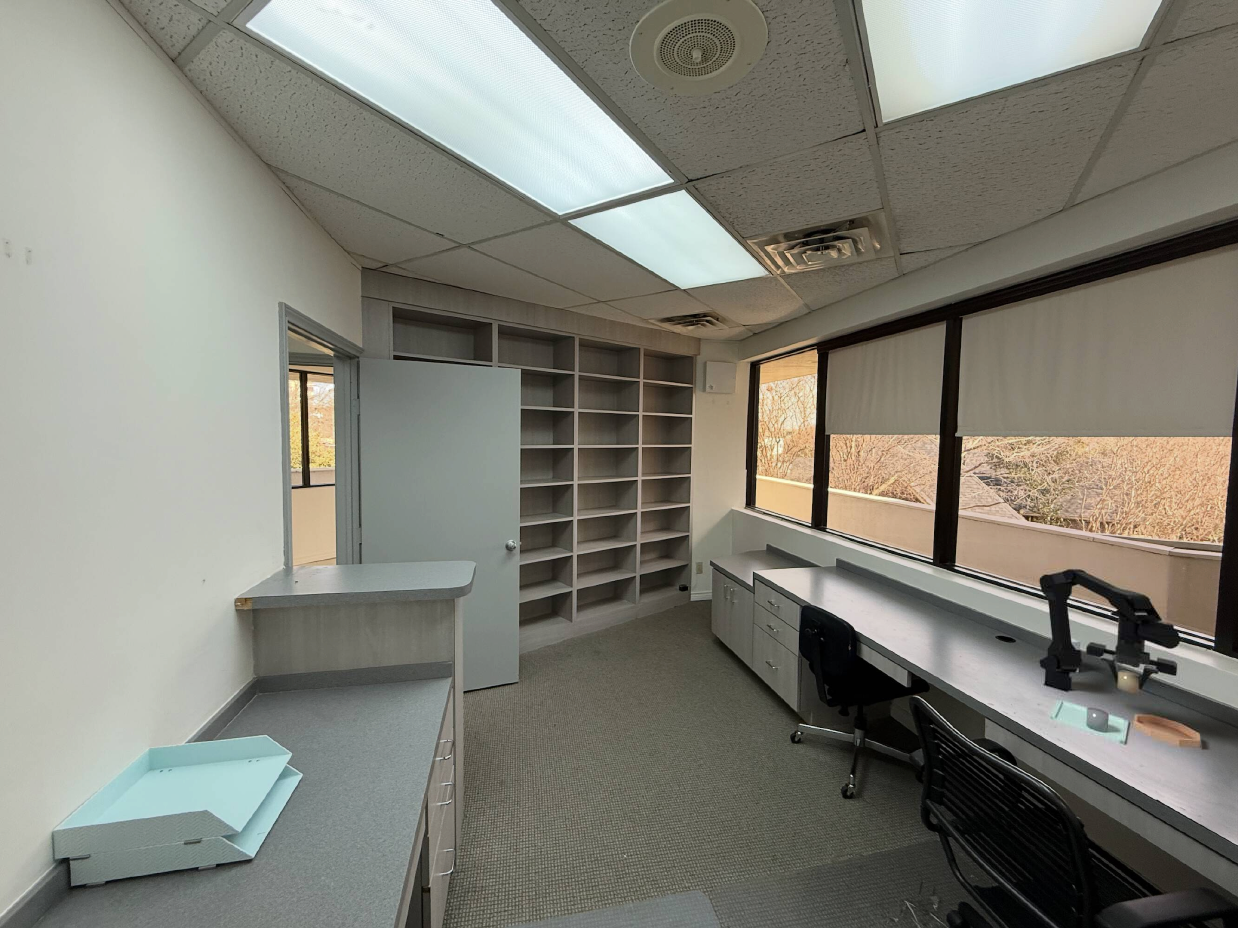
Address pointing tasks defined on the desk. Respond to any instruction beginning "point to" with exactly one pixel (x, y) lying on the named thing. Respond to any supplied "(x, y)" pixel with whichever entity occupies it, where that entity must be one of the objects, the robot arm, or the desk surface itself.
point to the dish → (1167, 730)
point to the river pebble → (1128, 681)
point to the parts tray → (1078, 716)
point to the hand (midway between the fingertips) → (1128, 685)
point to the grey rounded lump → (1097, 720)
